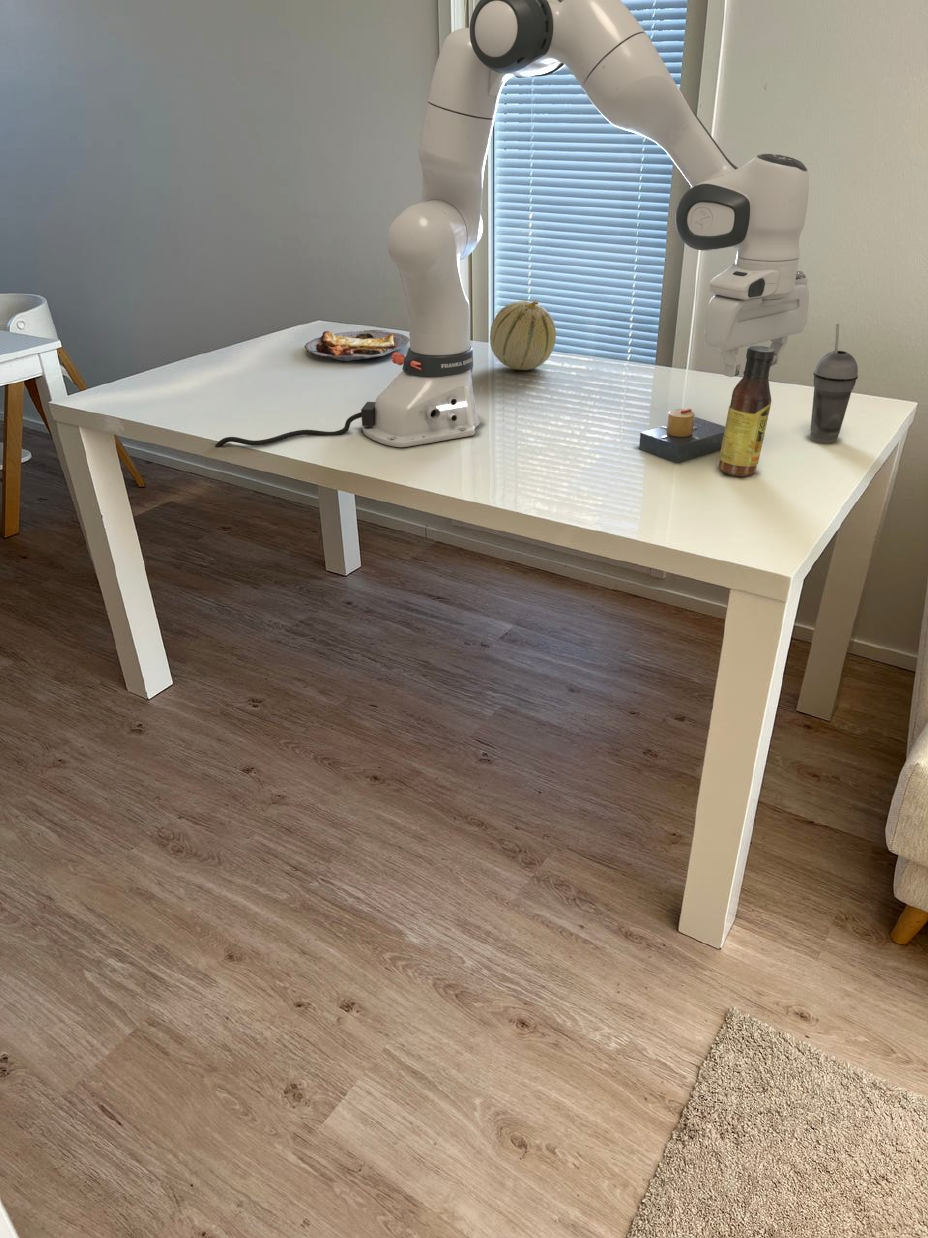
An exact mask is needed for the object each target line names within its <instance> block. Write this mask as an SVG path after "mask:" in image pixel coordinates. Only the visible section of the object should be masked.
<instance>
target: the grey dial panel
mask: <svg viewBox="0 0 928 1238" xmlns="http://www.w3.org/2000/svg"><path fill="white" fill-rule="evenodd" d="M725 426H726V425H722V424H719V423H716V422H713V421H710V420H707V419H703V418H700V417H697V416H695V417H694V425H693V434H692V435H690V436H687V437H675V436H671V435H669V434H667V424H666V425H660V426H658V427H655V428H651V429H648V430H645V431H641V432H640V433H639V444H638V449H639V450H641V451H643V452H647V453H649V454H652V455H655V456H657V457H659V458H663V459H664V460H668V461H671V462H674V463H675V464H679V463H682V462H685V461H689V460H691V459H694V458H698V457H701V456H705V455H707V454H710V453H713V452H715V451H719V450H721V446H722V441H723V436H724V431H725Z"/></svg>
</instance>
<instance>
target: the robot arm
mask: <svg viewBox="0 0 928 1238" xmlns="http://www.w3.org/2000/svg"><path fill="white" fill-rule="evenodd" d="M564 67H566V68H567V69H568V70H569V71H570V72H571V74H572V75H573V77H575V79H576V81H577V83H578V84H579V86H580V87H581V89H582V90H583V92H584V94H585V95H586V97H587V98H588V100H589V101H590V103H591V104H592V106H593V107H594V108H595V109H596V110H597V111H598V112H599V113H600V114H601V115H602V116H603V118H605V119H606V120H607V121H608V122H609V124H611V125H612V126H614V127H616V128H618V129H621V130H624V131H627V132H631V133H634V134H635V135H639V136H642V137H644V138H646V139H648V140H650V141H652V142H653V143H655V144H657V145H658V146H659V147H660V148H661V149H662V150H664V152H665V153H666V154H667V155H668V157H669V158H670V160H671V161H672V162H673V164H674V165H675V166H676V167H677V169H678V170H679V172H680V173H681V174H682V176H683V177H684V178H685V179H686V181H687V182H688V184H689V185H690V187H691V188H689V189H688V190H687V191H686V192H684V194H683V195H682V197H681V198H680V200H679V202H678V204H677V207H676V210H675V214H674V215H675V217H674V218H675V219H674V221H675V222H674V223H675V228H676V231H677V235H678V236H679V238H680V239H681V241H682V242H683V243H684V244H685V245H686V246H688V247H689V248H691V249H693V250H696V251H701V252H710V251H716V250H719V249H725V248H734V249H735V250H736V258H735V263H732V264H731V265H730V266H729V267H728V268H726V269H725V270H724V271H722V272H721V273H719V274H718V275H716V276H714V277H713V278H712V279H711V280H710V283H709V293H710V294H712V295H713V296H712V297H711V299H710V300H709V302H708V304H707V309H706V314H705V322H704V331H703V341H704V345H705V346H706V347H707V349H710V350H713V351H718V352H720V356H721V359H722V361H723V364H724V369H723V375H724V376H725V377H729V378H734V377H736V376H739V374H740V369H741V364H740V363H737V357H736V356H737V355H738V354H739V349H740V348H744V347H749V346H753V345H755V344H760V343H764V342H768V341H770V342H771V343H770V346H769V348H772V349H774V357H773V359H772V361H771V366H770V368H772V367H774V366H775V367H776V366H778V365H779V361H780V355H781V354H782V352H783V350H784V348H785V347H786V345H787V343H788V337H789V336H793V335H798V334H801V333H802V332H803V331H804V329H805V327H806V325H807V322H808V315H809V299H810V292H809V288H808V277H807V276H806V274H805V273H804V271H802V270H798V267H799V261H800V238H801V234H802V232H803V230H804V228H805V224H806V217H807V212H808V202H809V188H810V177H809V176H810V175H809V170H808V168H807V167H806V165H805V164H804V163H803V162H802V161H800V160H799V159H796V158H794V157H790V156H787V155H782V154H773V153H761V154H757V155H755V156H754V157H753V158H752V159H751V160H750V161H748V162H746V163H745V164H744V165H742V166H740V167H738V166H736V165H735V164H734V163H732V162H731V160H730V159H729V158H728V156H727V155H726V154H725V153H724V152H723V150H722V148H721V147H720V146H719V145H718V143H717V142H716V140H715V139H714V138H713V136H712V135H711V133H710V132H709V130H707V128H706V126H705V125H704V123H702V121H701V120H700V118H699V117H698V116H697V114H696V113H695V112H694V110H693V109H692V107H691V106H690V105H689V103H688V102H687V99H686V98H685V96H684V95H683V93H682V91H681V90H680V88H679V86H678V84H677V83H676V81H675V80H674V78H673V77H672V75H671V73H670V72H669V69H668V67H667V66H666V63H665V62H664V60H663V59H662V57H661V56H660V53H659V52H658V50H657V48H656V46H655V44H654V43H653V42H652V40H651V39H650V37H649V35H648V34H647V33H646V31H645V30H644V28H643V27H642V25H641V24H640V22H639V21H638V20H637V18H636V17H635V16H634V15H633V13H632V12H631V11H630V9H629V8H628V7H627V6H626V5H625V4H624V2H623V1H622V0H479V1H478V2H477V4H476V5H475V7H474V9H473V11H472V14H471V17H470V22H469V27H463V28H458V29H455V30H453V31H452V32H451V33H449V34H448V35H447V36H446V38H445V40H444V42H443V44H442V46H441V49H440V51H439V55H438V58H437V61H436V64H435V68H434V71H433V74H432V77H431V78H432V79H431V83H430V87H429V92H428V96H427V102H426V107H425V113H424V120H423V125H422V130H421V137H420V142H419V147H418V158H419V161H420V163H421V172H422V175H421V176H422V177H421V178H422V190H421V191H422V192H421V198H420V201H419V203H415V204H412V205H409V206H408V207H406V208H405V209H403V211H402V212H400V213H399V214H398V215H397V216H396V218H395V219H394V220H393V221H392V222H391V224H390V226H389V228H388V231H387V235H386V248H387V251H388V254H389V257H390V258H391V260H392V262H393V263H394V264H395V266H396V267H397V269H398V271H399V272H398V273H399V275H400V279H401V283H402V287H403V290H404V294H405V300H406V306H407V317H408V318H407V319H408V331H409V332H408V333H409V334H408V335H409V336H408V338H409V339H410V342H409V347H408V349H407V352H406V353H405V355H404V354H403V353H400V352H396V351H394V352H393V353H392V355H391V356H390V360H391V362H392V363H393V364H395V365H398V366H402V371H401V372H400V373H399V374H398V375H397V376H396V377H395V378H394V379H393V380H392V381H391V383H390V384H389V385H388V386H386V387H385V388H384V389H383V391H382V392H380V394H379V395H378V396H377V397H376V399H375V401H366V403H365V404H364V405H363V406H362V408H361V409H360V412H357V413H354V414H353V415H350V416H349V417H348V418H347V419H346V420H345V423H344V427H343V428H341V429H339V430H335V431H324V430H317V429H316V430H315V429H299V430H298V429H297V430H293V431H289V432H286V433H283V434H279V435H277V436H273V437H269V438H265V439H257V440H253V439H252V440H251V439H246V438H241V437H237V436H227V437H224V438H221V439H219V441H218V442H217V443H216V444H215V446H214V447H215V448H222V446H223V445H225V444H227V443H237V444H241V445H246V446H253V447H254V446H255V447H256V446H257V447H258V446H264V445H270V444H273V443H277V442H280V441H284V440H286V439H290V438H293V437H298V436H305V435H306V436H307V435H309V436H323V437H326V436H328V437H329V436H330V437H331V436H334V437H335V436H341V435H343V434H346V433H348V431H349V430H350V427H351V423H353V422H354V421H355V420H358V419H361V426H362V430H361V431H362V433H363V434H364V435H365V436H366V437H367V438H368V439H370V440H373V441H375V442H377V443H380V444H382V445H385V446H389V447H395V448H407V447H413V446H419V445H426V444H431V443H436V442H443V441H449V440H455V439H460V438H467V437H471V436H474V435H476V428H477V427H479V425H480V424H481V420H480V417H479V414H478V410H477V406H476V402H475V401H476V400H475V395H474V388H473V387H474V386H473V377H472V373H473V367H474V353H473V346H471V307H470V306H471V305H470V301H469V299H468V298H467V296H466V293H465V290H464V287H463V281H462V277H461V272H460V270H461V269H460V262H461V261H462V260H464V259H466V258H467V257H468V256H471V253H472V252H473V251H474V250H475V248H476V247H477V245H478V244H479V242H480V240H481V238H482V235H483V231H484V229H483V228H484V225H483V218H482V206H483V187H484V175H485V166H486V161H487V157H488V152H489V147H490V143H491V137H492V134H493V128H494V124H495V118H496V114H497V109H498V104H499V99H500V96H501V92H502V89H503V87H504V85H505V84H506V82H507V81H508V80H509V79H511V78H512V77H515V78H518V79H522V78H523V79H524V78H533V77H535V78H536V77H545V76H549V75H552V74H555V73H557V72H558V71H560V70H561V69H563V68H564Z"/></svg>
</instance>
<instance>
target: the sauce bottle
mask: <svg viewBox="0 0 928 1238" xmlns="http://www.w3.org/2000/svg"><path fill="white" fill-rule="evenodd" d="M745 355H746V356H745V358H746V362H745V367H744V370H743V372H742V373H743V377H742V378H741V379H740V380H739V381H738V383H737V384H736V385H735V386H734V387H733V390H732V393H731V399H730V405H728V411H727V415H726V421H725V425H724V426H725V431H724V436H723V441H722V446H721V449H720V452H719V456H718V459H719V462H718V468H719V470H720V471H722V472H723V473H725V474H728V475H731V476H737V477H746V476H751V475H753V474H755V472H756V470H757V465H758V464H759V461H760V456H761V452H762V447H763V443H764V438H765V435H766V434H765V433H766V430H767V429H766V428H767V425H768V421H769V415H770V410H771V406H772V396H771V390H770V380H769V377H770V370H771V367H772V366H771V361H772V359H773V357H774V349H772V348H770V346H769V347H768V346H764V345H749V346H747V350H746V354H745ZM770 366H771V367H770Z"/></svg>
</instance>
